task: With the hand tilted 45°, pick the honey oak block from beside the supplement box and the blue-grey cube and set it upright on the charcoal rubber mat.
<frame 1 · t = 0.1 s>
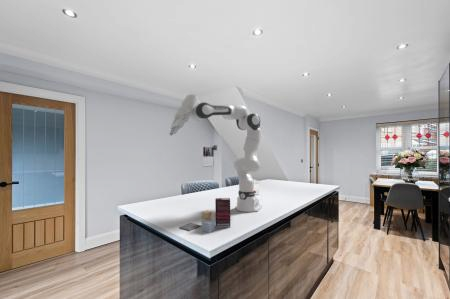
hand: (172, 134, 129), 54 cm above the table, tool tilted 30°, fingers open, 8 cm apart
supplement box: (222, 226, 118), on the table
blue-grey cube: (208, 230, 111), on the table
charcoal mat: (189, 227, 116), on the table
oak block: (207, 225, 120), on the table
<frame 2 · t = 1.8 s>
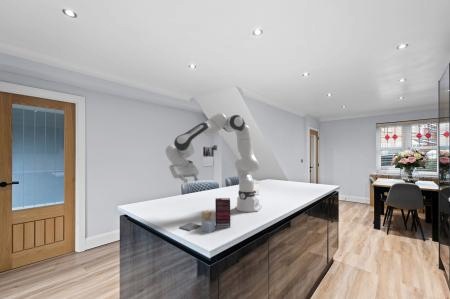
hand: (191, 181, 127), 25 cm above the table, tool tilted 45°, fingers open, 8 cm apart
nothing on the table moved.
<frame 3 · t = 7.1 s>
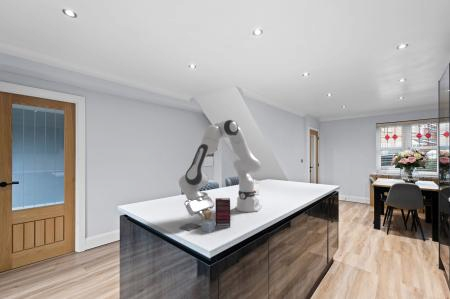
hand: (207, 217, 119), 5 cm above the table, tool tilted 45°, fingers closed on oak block, 4 cm apart
oak block: (207, 225, 120), on the table, touching gripper
everything else where it was.
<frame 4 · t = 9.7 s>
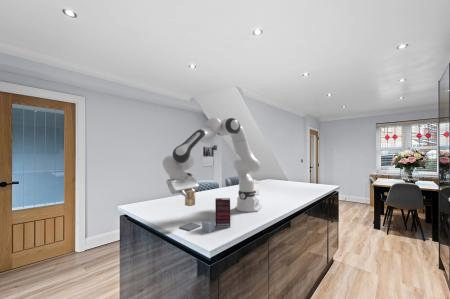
hand: (190, 196, 116), 17 cm above the table, tool tilted 45°, fingers closed on oak block, 4 cm apart
oak block: (189, 205, 117), point 13 cm above the table, touching gripper
everything else where it was.
when the fingers open (7 cm above the table, at t = 12.3 s): oak block drops 1 cm, resting on charcoal mat.
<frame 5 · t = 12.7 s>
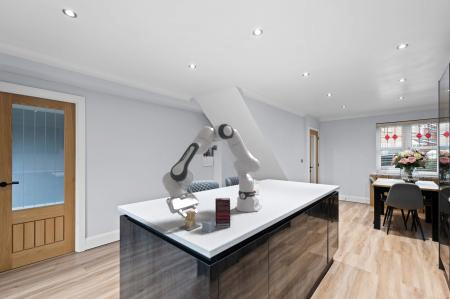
hand: (190, 215, 116), 7 cm above the table, tool tilted 45°, fingers open, 8 cm apart
oak block: (190, 226, 116), point 1 cm above the table, touching charcoal mat
everything else where it was.
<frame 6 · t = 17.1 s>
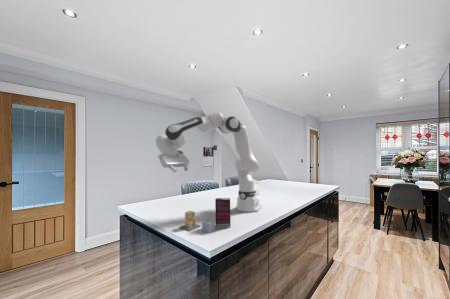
hand: (181, 170, 125), 31 cm above the table, tool tilted 45°, fingers open, 8 cm apart
nothing on the table moved.
at the end: oak block 0.1 cm off-centre on the charcoal mat, point 0.6 cm above the charcoal mat's base; oak block tilted 0°; the gripper is holding nothing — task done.
